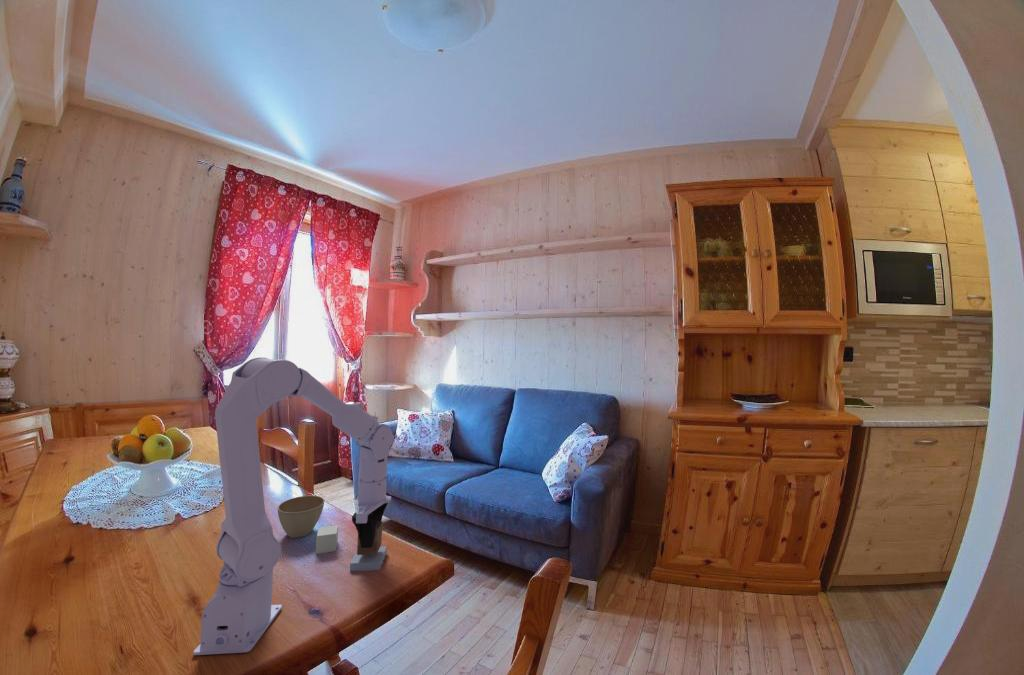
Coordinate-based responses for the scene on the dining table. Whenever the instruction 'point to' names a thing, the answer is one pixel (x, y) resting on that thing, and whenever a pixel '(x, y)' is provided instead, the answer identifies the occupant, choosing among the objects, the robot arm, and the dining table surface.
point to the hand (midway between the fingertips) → (369, 541)
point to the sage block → (327, 539)
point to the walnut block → (376, 542)
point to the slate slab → (368, 561)
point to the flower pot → (300, 515)
